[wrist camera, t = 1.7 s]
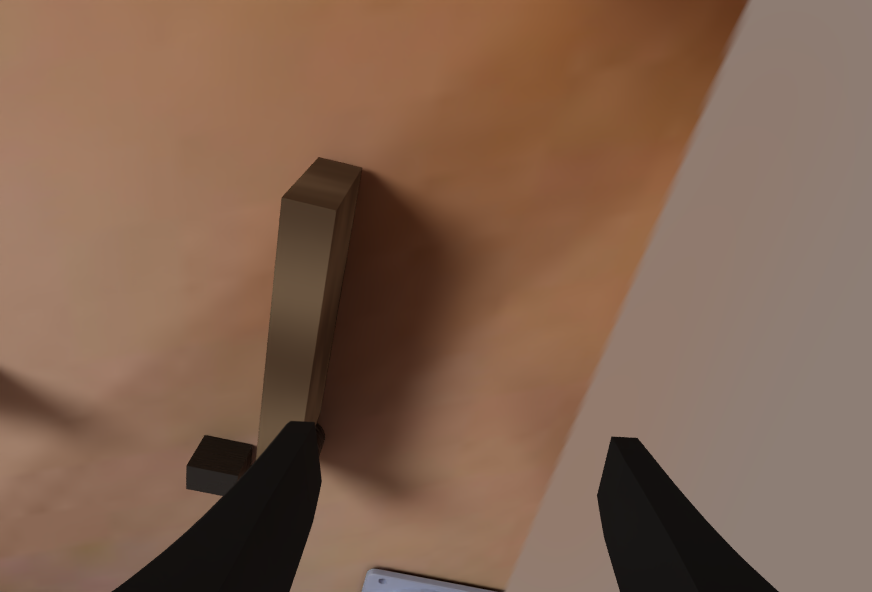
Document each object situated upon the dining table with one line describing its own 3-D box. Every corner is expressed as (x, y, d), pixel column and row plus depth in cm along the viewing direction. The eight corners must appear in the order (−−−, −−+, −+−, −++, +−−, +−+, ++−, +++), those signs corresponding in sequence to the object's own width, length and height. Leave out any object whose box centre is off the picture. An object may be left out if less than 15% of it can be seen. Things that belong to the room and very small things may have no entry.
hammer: (327, 421, 26) (293, 528, 21) (317, 480, 28) (283, 591, 23) (-152, 321, 24) (-320, 409, 19) (-126, 391, 26) (-273, 488, 21)
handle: (318, 422, 26) (291, 501, 22) (285, 415, 25) (252, 493, 21) (362, 167, 19) (335, 211, 15) (318, 157, 19) (280, 198, 15)
